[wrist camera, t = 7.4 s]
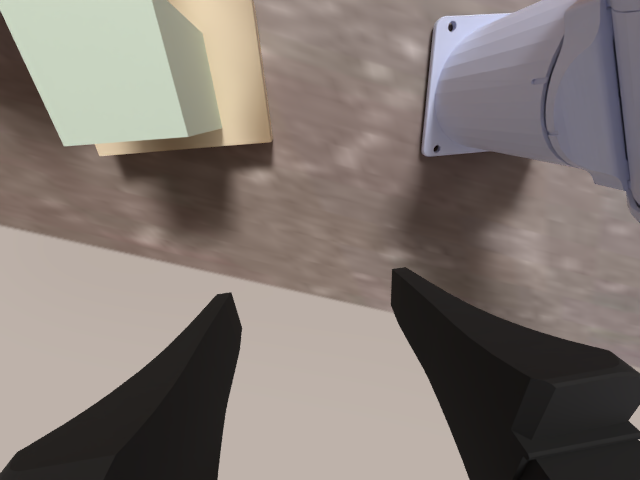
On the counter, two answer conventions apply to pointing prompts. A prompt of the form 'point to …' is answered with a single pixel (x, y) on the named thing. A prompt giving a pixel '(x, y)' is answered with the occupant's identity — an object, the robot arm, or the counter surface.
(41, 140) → the counter surface
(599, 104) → the robot arm
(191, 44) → the sage block
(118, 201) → the counter surface
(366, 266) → the counter surface
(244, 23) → the oak slab
